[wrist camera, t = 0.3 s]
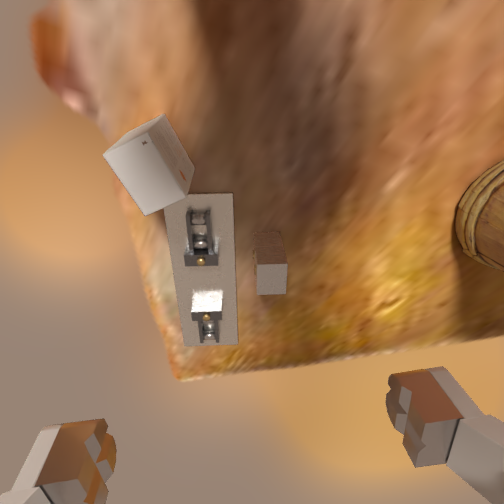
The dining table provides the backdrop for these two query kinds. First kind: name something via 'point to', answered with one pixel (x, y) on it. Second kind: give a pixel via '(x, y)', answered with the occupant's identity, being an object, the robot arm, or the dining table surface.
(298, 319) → the dining table surface
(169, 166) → the small box
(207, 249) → the grey long flat board
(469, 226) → the tankard
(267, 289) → the mini drawer chest
